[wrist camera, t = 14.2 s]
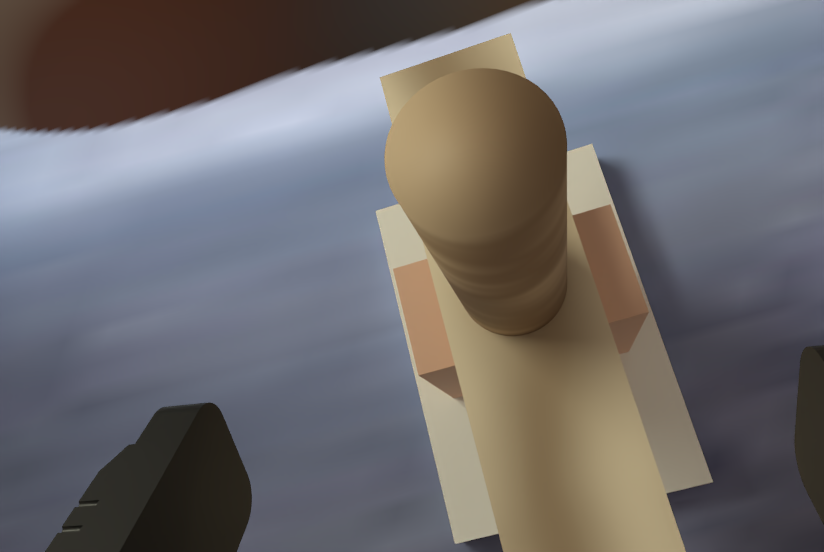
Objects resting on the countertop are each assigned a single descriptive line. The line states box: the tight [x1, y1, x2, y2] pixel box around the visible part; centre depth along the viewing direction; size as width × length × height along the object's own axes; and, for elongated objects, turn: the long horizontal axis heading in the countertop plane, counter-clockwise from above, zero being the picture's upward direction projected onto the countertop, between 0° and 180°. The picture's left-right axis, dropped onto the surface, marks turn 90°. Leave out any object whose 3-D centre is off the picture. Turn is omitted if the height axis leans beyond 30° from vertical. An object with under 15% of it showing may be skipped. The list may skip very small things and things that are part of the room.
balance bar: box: [380, 33, 686, 552], centre depth 19 cm, size 5×18×12 cm, turn 14°
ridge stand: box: [376, 144, 713, 544], centre depth 29 cm, size 11×16×10 cm
